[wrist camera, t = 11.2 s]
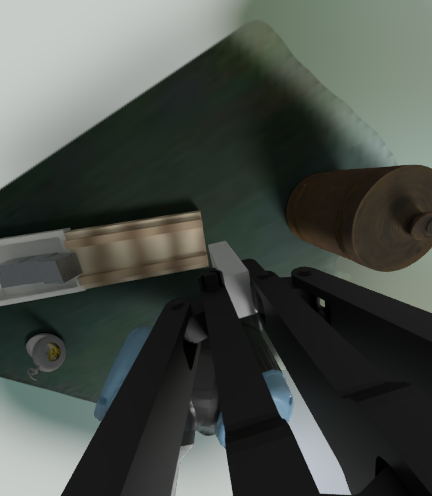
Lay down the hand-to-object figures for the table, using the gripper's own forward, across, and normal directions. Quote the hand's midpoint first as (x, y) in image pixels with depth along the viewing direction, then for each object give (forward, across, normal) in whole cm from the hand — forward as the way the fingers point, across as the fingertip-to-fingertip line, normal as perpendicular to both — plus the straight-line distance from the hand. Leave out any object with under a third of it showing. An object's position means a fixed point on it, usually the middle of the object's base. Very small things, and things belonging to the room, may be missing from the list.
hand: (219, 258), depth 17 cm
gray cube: (+23, +25, +3) cm, 34 cm away
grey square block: (+25, +30, +2) cm, 39 cm away
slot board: (+25, +12, +3) cm, 28 cm away
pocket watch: (+26, +37, +20) cm, 49 cm away
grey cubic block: (+23, +32, +2) cm, 39 cm away
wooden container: (+26, -26, +4) cm, 36 cm away
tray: (+25, +32, +2) cm, 41 cm away
